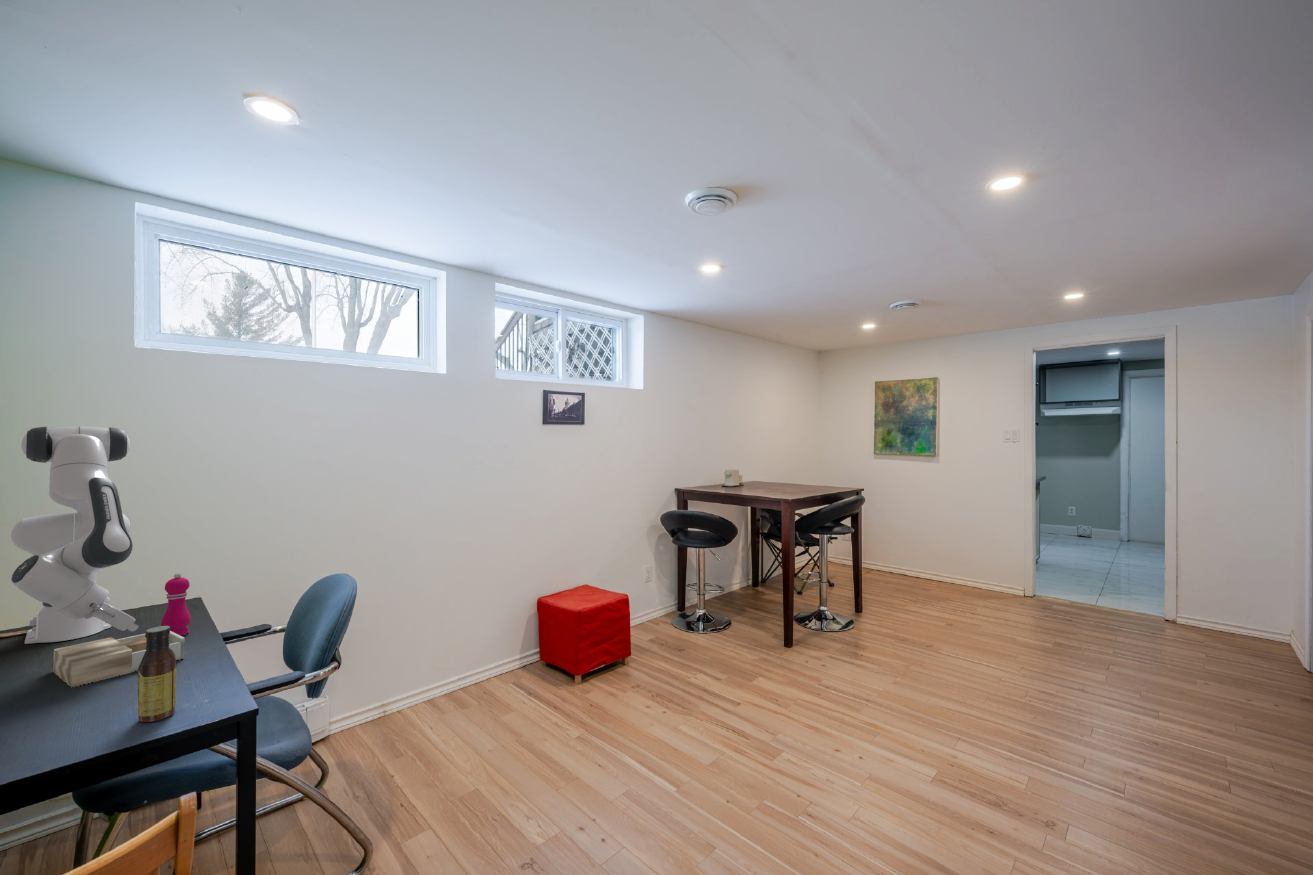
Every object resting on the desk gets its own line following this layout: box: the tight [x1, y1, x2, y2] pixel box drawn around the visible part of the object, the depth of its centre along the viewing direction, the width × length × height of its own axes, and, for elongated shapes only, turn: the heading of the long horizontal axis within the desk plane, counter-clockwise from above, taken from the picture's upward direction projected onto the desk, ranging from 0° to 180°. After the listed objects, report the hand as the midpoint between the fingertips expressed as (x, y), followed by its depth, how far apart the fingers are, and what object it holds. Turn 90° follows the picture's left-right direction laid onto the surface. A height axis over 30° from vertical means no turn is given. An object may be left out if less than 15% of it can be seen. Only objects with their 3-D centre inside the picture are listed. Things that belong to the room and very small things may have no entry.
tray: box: [116, 631, 186, 673], centre depth 152 cm, size 18×11×6 cm, turn 58°
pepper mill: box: [160, 572, 192, 637], centre depth 171 cm, size 7×7×20 cm
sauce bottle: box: [137, 625, 177, 723], centre depth 119 cm, size 7×6×20 cm
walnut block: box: [122, 637, 146, 653], centre depth 150 cm, size 5×5×8 cm
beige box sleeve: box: [52, 636, 133, 689], centre depth 142 cm, size 18×11×6 cm, turn 58°
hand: (134, 628), depth 149 cm, fingers closed
